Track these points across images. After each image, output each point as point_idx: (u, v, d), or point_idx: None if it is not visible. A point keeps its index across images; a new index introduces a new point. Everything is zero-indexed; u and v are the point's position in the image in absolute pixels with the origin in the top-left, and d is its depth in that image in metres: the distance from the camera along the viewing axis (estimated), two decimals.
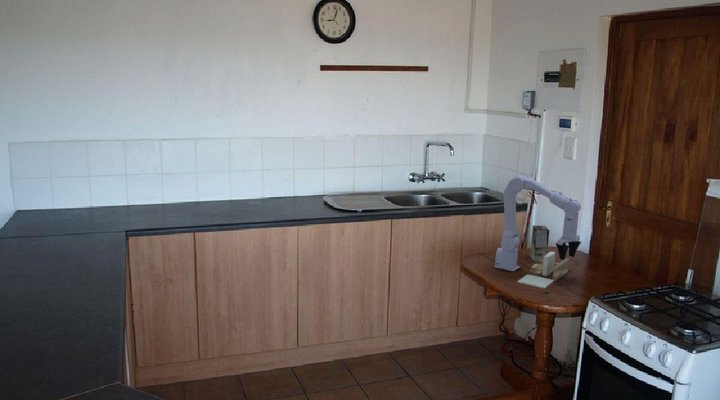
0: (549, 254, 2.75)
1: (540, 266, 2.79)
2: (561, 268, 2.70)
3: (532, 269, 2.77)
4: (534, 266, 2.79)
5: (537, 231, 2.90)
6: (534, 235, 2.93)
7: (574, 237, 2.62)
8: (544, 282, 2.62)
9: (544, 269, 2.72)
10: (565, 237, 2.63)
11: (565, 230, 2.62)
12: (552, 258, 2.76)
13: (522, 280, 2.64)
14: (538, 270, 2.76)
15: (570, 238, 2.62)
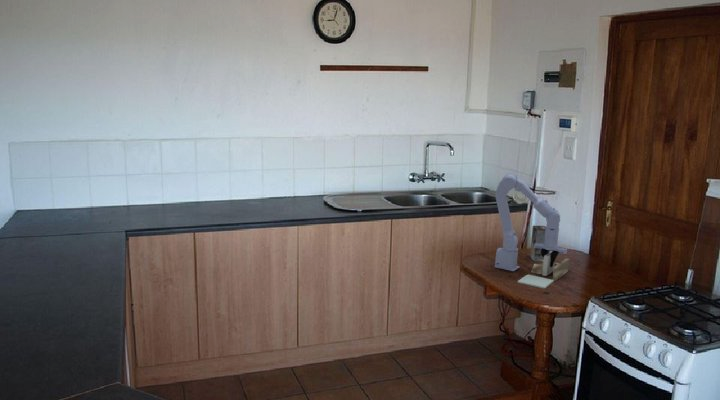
0: (549, 254, 2.75)
1: (540, 266, 2.79)
2: (561, 268, 2.70)
3: (533, 269, 2.76)
4: (535, 266, 2.79)
5: (537, 231, 2.90)
6: (534, 235, 2.93)
7: (547, 245, 2.72)
8: (544, 282, 2.62)
9: (544, 269, 2.72)
10: None
11: None
12: None
13: (522, 280, 2.64)
14: (540, 270, 2.75)
15: (544, 245, 2.74)
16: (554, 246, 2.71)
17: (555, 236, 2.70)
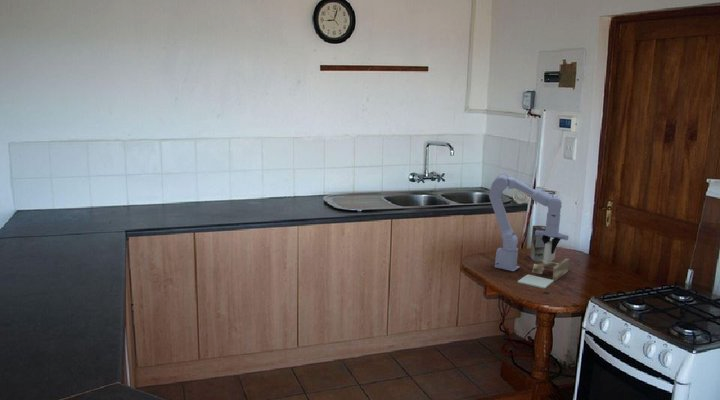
0: (550, 242, 2.73)
1: (540, 266, 2.79)
2: (561, 268, 2.70)
3: (534, 270, 2.76)
4: (535, 266, 2.79)
5: None
6: (534, 235, 2.93)
7: (548, 232, 2.71)
8: (544, 282, 2.62)
9: (545, 257, 2.71)
10: None
11: None
12: None
13: (522, 280, 2.64)
14: (540, 270, 2.75)
15: (545, 232, 2.72)
16: (555, 233, 2.70)
17: (556, 222, 2.69)
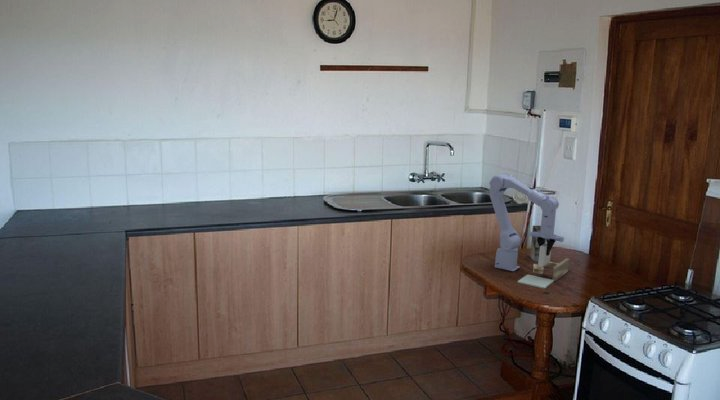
0: (545, 244, 2.68)
1: None
2: (561, 268, 2.70)
3: (535, 270, 2.76)
4: (535, 267, 2.79)
5: (537, 231, 2.90)
6: None
7: (543, 233, 2.65)
8: (544, 282, 2.62)
9: (540, 260, 2.65)
10: None
11: None
12: None
13: (522, 280, 2.64)
14: (541, 270, 2.75)
15: (540, 233, 2.67)
16: (550, 234, 2.64)
17: (549, 224, 2.63)
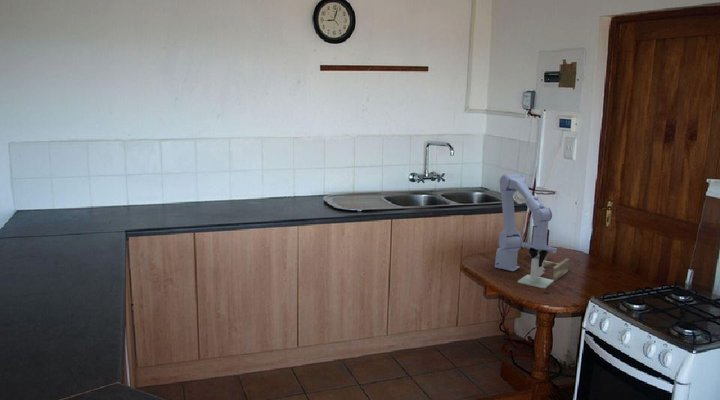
0: (537, 257, 2.61)
1: None
2: (561, 268, 2.70)
3: None
4: None
5: None
6: None
7: (536, 244, 2.58)
8: (544, 282, 2.62)
9: (532, 273, 2.59)
10: None
11: None
12: None
13: (522, 280, 2.64)
14: None
15: (532, 244, 2.60)
16: (543, 245, 2.58)
17: (538, 234, 2.57)
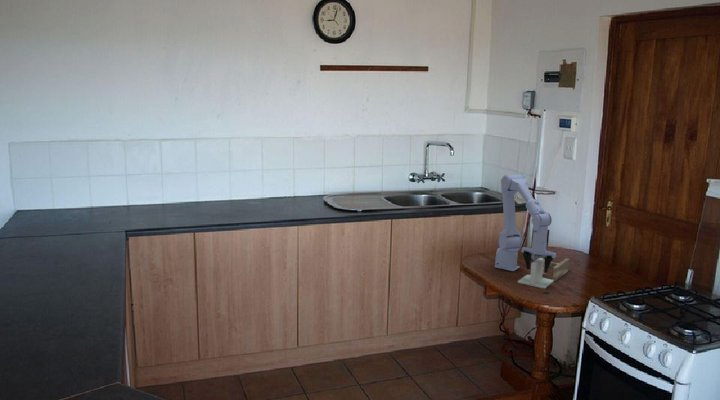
0: (537, 261, 2.62)
1: None
2: (561, 268, 2.70)
3: None
4: None
5: None
6: None
7: (535, 249, 2.59)
8: (544, 282, 2.62)
9: (532, 277, 2.59)
10: None
11: None
12: (541, 265, 2.63)
13: (522, 280, 2.64)
14: (543, 270, 2.75)
15: (532, 249, 2.61)
16: (542, 250, 2.58)
17: (538, 239, 2.57)
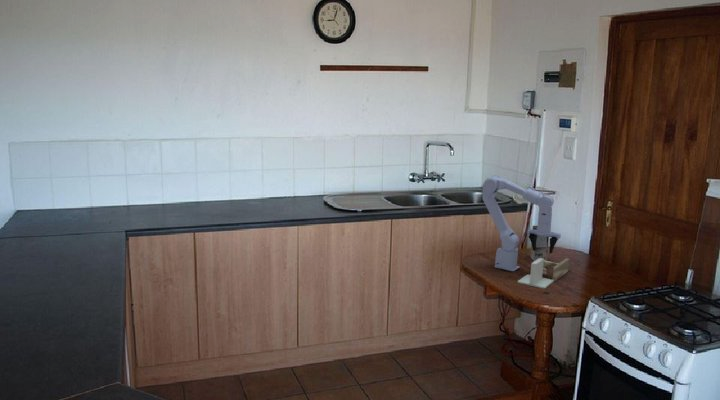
0: (537, 261, 2.62)
1: None
2: (561, 268, 2.70)
3: None
4: None
5: None
6: None
7: (540, 231, 2.70)
8: (544, 282, 2.62)
9: (532, 277, 2.59)
10: None
11: None
12: (541, 265, 2.63)
13: (522, 280, 2.64)
14: (544, 270, 2.75)
15: (537, 230, 2.71)
16: (547, 231, 2.69)
17: (547, 221, 2.68)
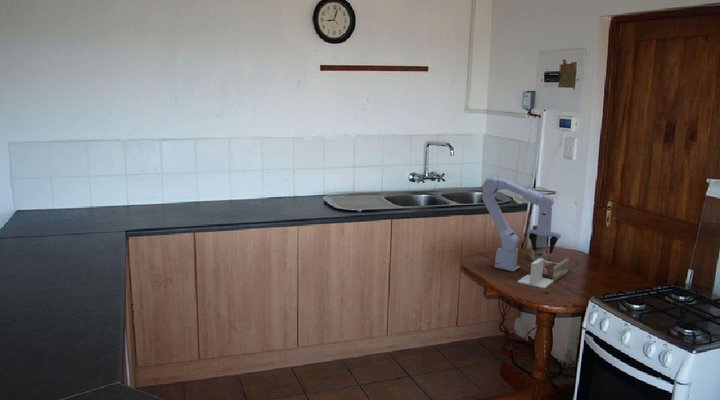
0: (537, 261, 2.62)
1: None
2: (561, 268, 2.70)
3: None
4: None
5: None
6: None
7: (540, 231, 2.70)
8: (544, 282, 2.62)
9: (532, 277, 2.59)
10: None
11: None
12: (541, 265, 2.63)
13: (522, 280, 2.64)
14: (545, 270, 2.76)
15: (537, 230, 2.71)
16: (547, 231, 2.69)
17: (547, 221, 2.68)
